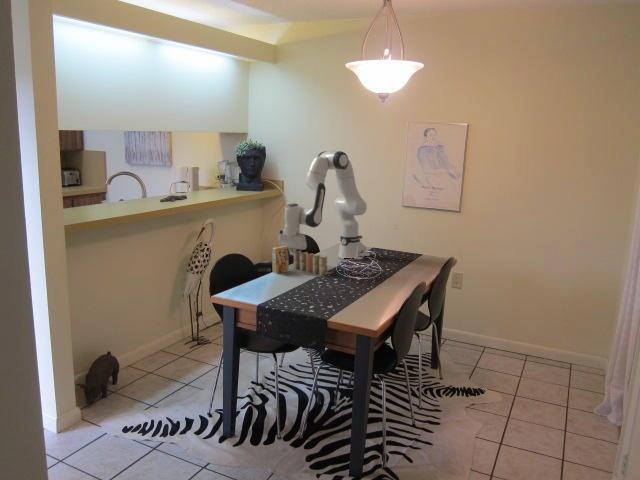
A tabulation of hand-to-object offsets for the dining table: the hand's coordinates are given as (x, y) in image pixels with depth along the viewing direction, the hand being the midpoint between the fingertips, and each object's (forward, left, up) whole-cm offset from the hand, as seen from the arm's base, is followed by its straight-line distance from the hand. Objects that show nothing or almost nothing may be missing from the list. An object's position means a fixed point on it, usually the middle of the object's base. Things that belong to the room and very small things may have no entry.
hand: (292, 254), depth 302 cm
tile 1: (0, +4, -7) cm, 9 cm away
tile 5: (0, +24, -7) cm, 25 cm away
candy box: (+12, +2, -9) cm, 15 cm away
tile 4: (0, +19, -7) cm, 21 cm away
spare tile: (0, +14, -7) cm, 16 cm away
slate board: (0, +14, -8) cm, 17 cm away
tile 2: (0, +9, -7) cm, 12 cm away
